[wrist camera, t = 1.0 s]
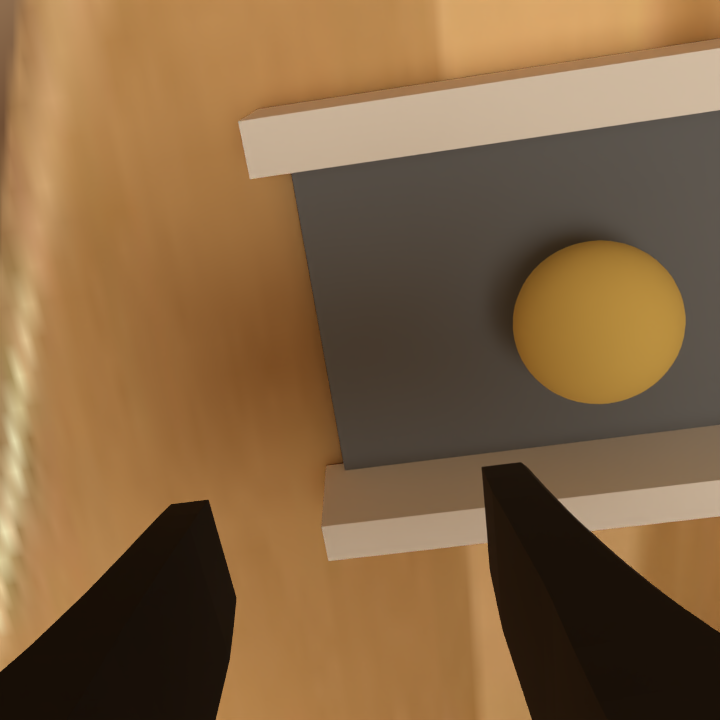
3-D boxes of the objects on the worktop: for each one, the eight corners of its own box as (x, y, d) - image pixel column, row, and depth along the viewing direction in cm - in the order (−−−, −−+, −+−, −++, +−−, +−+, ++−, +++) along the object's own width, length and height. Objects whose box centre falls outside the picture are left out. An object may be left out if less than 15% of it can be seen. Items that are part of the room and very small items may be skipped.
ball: (645, 352, 19) (711, 423, 16) (503, 370, 20) (536, 444, 16) (649, 213, 18) (724, 256, 14) (494, 234, 18) (529, 282, 14)
